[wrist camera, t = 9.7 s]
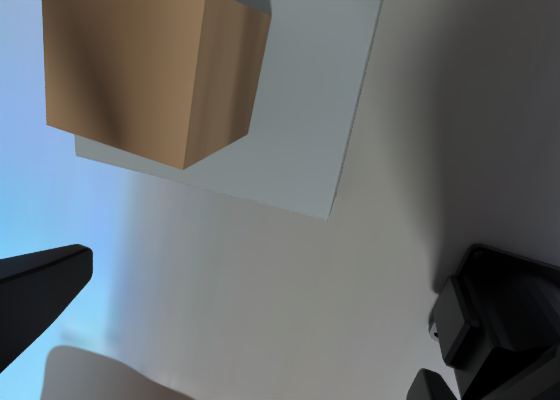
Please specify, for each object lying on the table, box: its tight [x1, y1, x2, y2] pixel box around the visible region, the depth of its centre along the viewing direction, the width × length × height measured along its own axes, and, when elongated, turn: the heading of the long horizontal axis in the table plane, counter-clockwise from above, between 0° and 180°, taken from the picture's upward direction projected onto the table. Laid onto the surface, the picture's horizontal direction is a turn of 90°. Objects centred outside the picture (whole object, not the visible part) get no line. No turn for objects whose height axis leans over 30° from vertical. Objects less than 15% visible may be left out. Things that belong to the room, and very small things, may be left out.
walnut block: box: [42, 0, 272, 170], centre depth 13 cm, size 5×5×6 cm
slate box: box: [74, 0, 383, 221], centre depth 18 cm, size 14×12×4 cm
